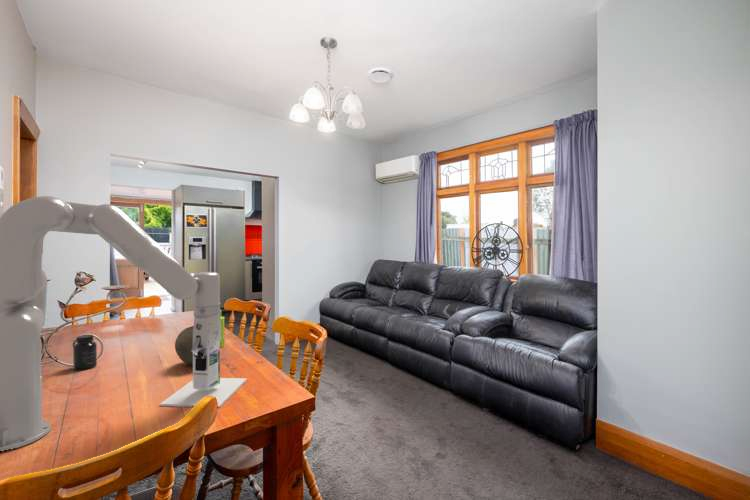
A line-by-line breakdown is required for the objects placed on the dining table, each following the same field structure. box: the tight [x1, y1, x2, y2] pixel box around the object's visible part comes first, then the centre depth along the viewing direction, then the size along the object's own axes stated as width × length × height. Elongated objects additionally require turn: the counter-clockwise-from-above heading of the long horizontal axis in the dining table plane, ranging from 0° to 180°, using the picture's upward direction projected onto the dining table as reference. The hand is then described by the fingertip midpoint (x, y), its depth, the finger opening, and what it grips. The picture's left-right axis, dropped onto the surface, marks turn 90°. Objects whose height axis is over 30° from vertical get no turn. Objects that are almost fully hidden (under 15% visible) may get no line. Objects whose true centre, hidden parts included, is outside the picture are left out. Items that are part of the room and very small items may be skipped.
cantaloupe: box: [174, 325, 194, 365], centre depth 136 cm, size 14×14×15 cm
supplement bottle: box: [72, 334, 98, 371], centre depth 131 cm, size 7×7×12 cm
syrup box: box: [192, 340, 221, 390], centre depth 112 cm, size 6×6×14 cm
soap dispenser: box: [220, 302, 226, 348], centre depth 159 cm, size 6×7×20 cm
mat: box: [159, 377, 248, 409], centre depth 112 cm, size 20×18×1 cm
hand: (206, 365), depth 112 cm, fingers closed on syrup box, 6 cm apart
